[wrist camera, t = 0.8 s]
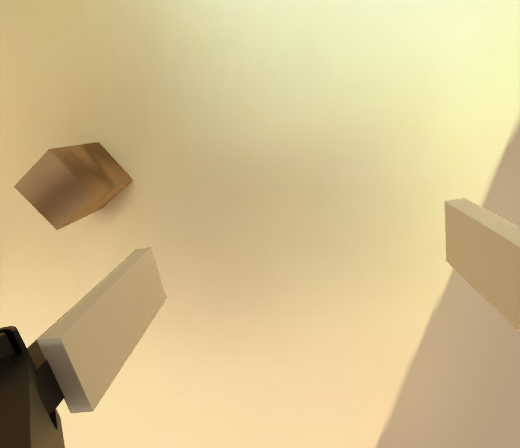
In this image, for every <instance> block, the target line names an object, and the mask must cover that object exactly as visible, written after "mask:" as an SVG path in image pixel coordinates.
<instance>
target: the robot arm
mask: <svg viewBox="0 0 520 448" xmlns="http://www.w3.org/2000/svg"><path fill="white" fill-rule="evenodd" d="M445 230H446V261H447V262H448V263H449V264H450V265H451V266H452V267H453V268H454V269H455V270H456V271H457V272H458V273H459V274H461V276H462V277H463V278H464V279H465V280H466V281H467V282H468V283H470V285H472V287H473V288H475V290H477V291H478V292H479V293H480V294H481V295H482V296H483V297H484V298H485V299H486V300H487V301H488V302H489V303H490V304H491V305H492V306H493V307H494V308H495V309H496V310H497V311H498V312H499V313H500V314H501V315H502V316H503V317H504V318H505V319H506V320H507V321H508V322H509V323H510V324H511V325H512V326H513V327H514V328H515V329H516V330H517V331H518V332H519V333H520V227H519V226H517V225H515V224H513V223H511V222H509V221H507V220H505V219H503V218H501V217H499V216H498V215H496V214H494V213H492V212H490V211H488V210H486V209H484V208H482V207H480V206H478V205H476V204H474V203H473V202H471V201H469V200H467V199H465V198H462V199H456V200H449V201H445ZM166 299H167V298H166V295H165V291H164V288H163V285H162V282H161V279H160V276H159V273H158V269H157V266H156V263H155V260H154V257H153V254H152V251H151V248H144V249H138V250H135V251H134V252H133V253H132V254H130V255H129V256H128V257H127V258H126V259H125V260H124V261H123V262H122V263H121V264H120V265H118V266H117V267H116V268H115V269H114V270H113V271H112V272H111V273H110V274H109V275H107V276H106V277H105V278H104V279H103V280H102V281H101V282H100V283H99V284H98V285H96V286H95V287H94V288H93V289H92V290H91V291H90V292H89V293H88V294H87V295H86V296H84V297H83V298H82V299H81V300H80V301H79V302H78V303H77V304H76V305H75V306H73V307H72V308H71V309H70V310H69V311H68V312H67V313H65V314H64V315H63V316H62V317H61V318H60V319H59V320H58V321H57V322H56V323H54V324H53V325H52V326H51V327H50V328H49V329H48V330H47V331H46V332H45V333H43V334H42V335H41V336H40V337H39V338H38V339H37V340H36V341H35V342H34V343H33V344H31V345H30V346H29V347H28V348H26V346H25V344H24V342H23V340H22V338H21V336H20V334H19V332H18V330H17V328H16V327H13V326H8V327H3V328H0V448H65V446H64V439H63V432H62V426H61V419H60V416H59V414H58V412H57V410H56V407H57V406H58V405H59V404H60V402H61V401H62V400H63V399H65V402H66V404H67V406H68V408H69V410H70V412H71V413H78V412H90V411H94V409H95V408H96V406H97V404H98V403H99V401H100V400H101V398H102V397H103V395H104V394H105V392H106V391H107V389H108V388H109V386H110V385H111V383H112V381H113V380H114V378H115V377H116V375H117V374H118V372H119V371H120V369H121V368H122V366H123V365H124V363H125V362H126V360H127V358H128V357H129V355H130V354H131V352H132V351H133V349H134V348H135V346H136V345H137V343H138V342H139V340H140V339H141V337H142V335H143V334H144V332H145V331H146V329H147V328H148V326H149V325H150V323H151V322H152V320H153V319H154V317H155V316H156V314H157V312H158V311H159V309H160V308H161V306H162V305H163V303H164V302H165V300H166Z"/></svg>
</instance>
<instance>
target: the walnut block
mask: <svg viewBox="0 0 520 448" xmlns="http://www.w3.org/2000/svg"><path fill="white" fill-rule="evenodd" d="M131 181H132V179H131V178H130V176H129V175H128V174H127V173H126V172H125V171H124V170H123V169H122V168H121V167H120V165H119V164H118V163H117V162H116V161H115V160H114V159H113V158H112V157H111V155H110V154H109V153H108V152H107V151H106V150H105V149H104V148H103V147H102V146H101V144H100V143H99V142H98V143H91V144H83V145H76V146H69V147H62V148H55V149H49V150H48V151H47V152H46V153H45V154H44V155H43V156H42V157H41V158H40V160H39V161H38V162H37V163H36V164H35V165H34V166H33V167H32V168H31V169H30V170H29V171H28V172H27V173H26V174H25V176H24V177H23V178H22V179H21V180H20V181H19V182H18V183H17V184H16V185H15V186H14V187H15V188H16V189H17V190H18V191H19V192H20V193H21V194H22V195H23V196H24V197H25V198H26V199H27V200H28V201H29V202H30V203H31V204H32V205H33V206H34V207H35V208H36V209H37V210H38V211H39V212H40V213H41V214H42V215H43V216H44V217H45V218H46V219H47V220H48V221H49V222H50V223H51V224H52V225H53V226H54V227H55V228H56V229H57V230H58V229H60V228H62V227H64V226H66V225H69V224H71V223H73V222H75V221H77V220H79V219H81V218H83V217H85V216H87V215H89V214H91V213H93V212H95V211H97V210H99V209H101V208H103V207H104V206H105V205H106V204H107V203H108V202H109V201H110V200H111V199H113V198H114V197H115V196H116V195H117V194H118V193H119V192H120V191H121V190H122V189H123V188H124V187H126V186H127V185H128V184H129V183H130V182H131Z"/></svg>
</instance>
